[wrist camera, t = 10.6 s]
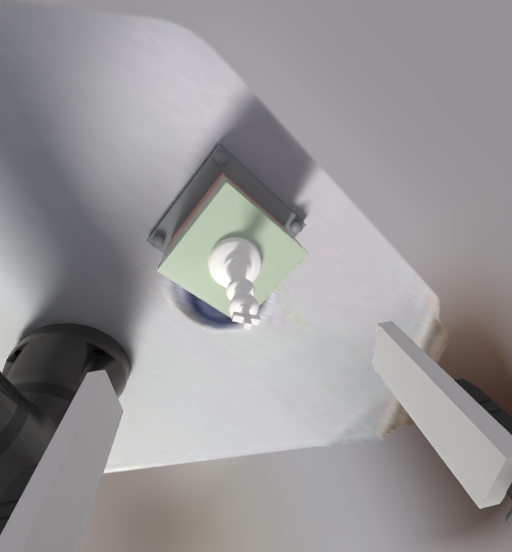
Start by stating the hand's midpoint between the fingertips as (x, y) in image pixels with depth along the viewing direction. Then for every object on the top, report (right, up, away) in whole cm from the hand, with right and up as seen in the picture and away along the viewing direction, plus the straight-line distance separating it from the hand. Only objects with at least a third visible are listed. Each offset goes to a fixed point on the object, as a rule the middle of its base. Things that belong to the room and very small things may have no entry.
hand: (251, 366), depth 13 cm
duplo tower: (-3, +10, +21) cm, 24 cm away
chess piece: (-2, +6, +12) cm, 13 cm away
